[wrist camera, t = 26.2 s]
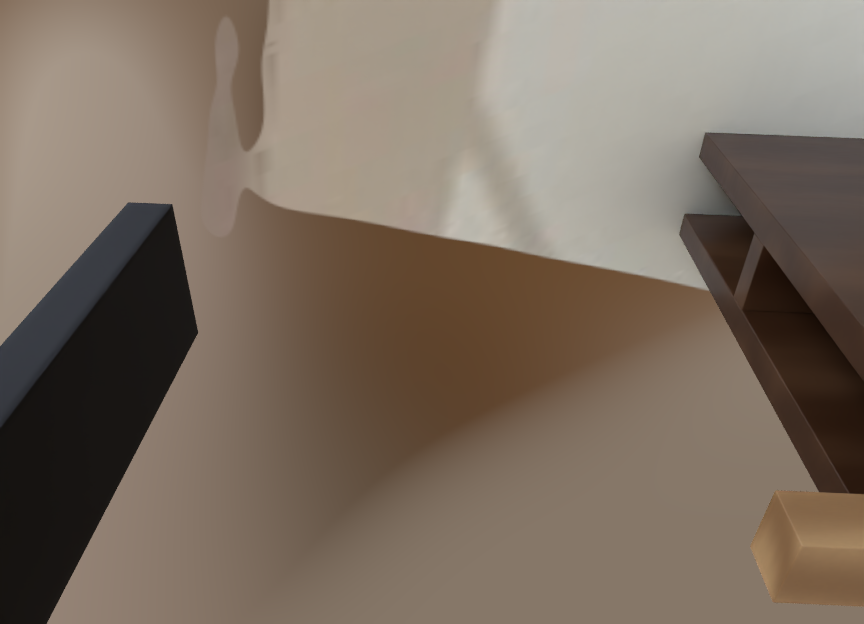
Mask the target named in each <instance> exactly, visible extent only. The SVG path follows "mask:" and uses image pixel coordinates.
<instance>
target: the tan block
mask: <svg viewBox="0 0 864 624" xmlns="http://www.w3.org/2000/svg"><path fill="white" fill-rule="evenodd" d="M750 547H751V550H752V552H753V554H754V557H755V560H756V562H757V564H758V567H759V569H760V572H761V574H762V577H763V579H764V582H765V584H766V587H767V589H768V592H769V594H770V597H771V599H772V601H773V602H775V603H797V604H819V605H841V606H864V494H847V493H825V492H802V491H779V490H776V491H775V492H774V495H773V497H772V499H771V501H770V503H769V506H768V508H767V510H766V512H765V515H764V517H763V519H762V521H761V523H760V525H759V528H758V530H757V532H756V534H755V536H754V539H753V541H752V543H751V546H750Z"/></svg>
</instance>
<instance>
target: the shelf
mask: <svg viewBox="0 0 864 624" xmlns="http://www.w3.org/2000/svg"><path fill="white" fill-rule="evenodd" d="M699 157H700V159H701V160H702V162H703V163H704V164H705V166H706V167H707V168H708V170H709V171H710V172H711V174H712V175H713V177H714V178H715V179H716V181H717V182H718V183H719V185H720V186H721V187H722V189H723V190H724V192H725V193H726V194H727V196H728V197H729V198H730V200H731V201H732V202H733V204H734V205H735V207H736V208H737V209H738V211H739V212H740V213H741V215H742V216H723V215H698V214H685V215H684V219H683V222H682V226H681V230H680V234H679V235H680V237H681V239H682V241H683V242H684V244H685V246H686V248H687V250H688V252H689V254H690V255H691V257H692V259H693V261H694V263H695V265H696V266H697V268H698V270H699V272H700V274H701V276H702V277H703V279H704V281H705V283H706V285H707V287H708V288H709V290H710V292H711V294H712V296H713V297H714V300H715V301H716V303H717V305H718V307H719V309H720V311H721V312H722V314H723V316H724V318H725V320H726V322H727V323H728V325H729V327H730V329H731V331H732V332H733V335H734V336H735V338H736V340H737V342H738V344H739V346H740V347H741V349H742V351H743V353H744V355H745V356H746V358H747V360H748V362H749V364H750V366H751V368H752V369H753V371H754V373H755V375H756V377H757V379H758V380H759V382H760V384H761V386H762V388H763V390H764V392H765V393H766V395H767V397H768V399H769V401H770V403H771V404H772V406H773V408H774V410H775V412H776V414H777V415H778V417H779V419H780V421H781V423H782V425H783V427H784V428H785V430H786V432H787V434H788V436H789V437H790V439H791V441H792V443H793V445H794V447H795V449H796V450H797V452H798V454H799V456H800V458H801V460H802V461H803V463H804V465H805V467H806V469H807V470H808V472H809V474H810V476H811V478H812V480H813V482H814V483H815V485H816V487H817V489H818V491H819V492H825V493H847V494H864V139H855V138H829V137H803V136H777V135H751V134H725V133H705V136H704V140H703V144H702V148H701V152H700V156H699Z"/></svg>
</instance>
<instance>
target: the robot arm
mask: <svg viewBox="0 0 864 624" xmlns="http://www.w3.org/2000/svg"><path fill="white" fill-rule="evenodd" d="M197 334H198V330H197V325H196V320H195V315H194V310H193V305H192V300H191V295H190V290H189V285H188V280H187V275H186V270H185V266H184V260H183V255H182V250H181V246H180V241H179V235H178V231H177V225H176V221H175V216H174V211H173V206H172V204H152V203H127V205H126V206H125V207H124V208H123V209H122V210H121V211H120V213H119V214H118V215H117V216H116V217H115V218H114V219H113V220H112V222H111V223H110V224H109V225H108V226H107V227H106V228H105V229H104V230H103V231H102V233H101V234H100V235H99V236H98V237H97V238H96V239H95V240H94V242H93V243H92V244H91V245H90V246H89V247H88V248H87V249H86V251H85V252H84V253H83V254H82V255H81V256H80V257H79V259H78V260H77V261H76V262H75V263H74V264H73V265H72V266H71V268H70V269H69V270H68V271H67V272H66V273H65V274H64V275H63V276H62V278H61V279H60V280H59V281H58V282H57V283H56V284H55V285H54V287H53V288H52V289H51V290H50V291H49V292H48V293H47V294H46V296H45V297H44V298H43V299H42V300H41V301H40V302H39V304H37V306H36V307H35V308H34V309H33V310H32V312H30V313H29V315H28V316H27V317H26V318H25V319H24V320H23V321H22V322H21V324H20V325H19V326H18V327H17V328H16V329H15V330H14V331H13V333H12V334H11V335H10V336H9V337H8V338H7V339H6V340H5V342H4V343H3V344H2V345H1V346H0V624H47V622H48V620H49V618H50V616H51V614H52V612H53V610H54V608H55V606H56V604H57V603H58V601H59V599H60V597H61V595H62V593H63V591H64V589H65V587H66V585H67V583H68V581H69V580H70V577H71V576H72V574H73V572H74V570H75V568H76V566H77V564H78V562H79V560H80V558H81V556H82V554H83V553H84V551H85V549H86V547H87V545H88V543H89V541H90V539H91V537H92V535H93V533H94V532H95V530H96V528H97V526H98V524H99V522H100V520H101V518H102V516H103V514H104V512H105V510H106V508H107V507H108V505H109V503H110V501H111V499H112V497H113V495H114V493H115V491H116V489H117V487H118V485H119V483H120V482H121V480H122V478H123V476H124V474H125V472H126V470H127V468H128V466H129V464H130V462H131V460H132V459H133V456H134V454H135V453H136V451H137V449H138V447H139V445H140V443H141V441H142V439H143V437H144V435H145V433H146V432H147V430H148V428H149V426H150V424H151V422H152V420H153V418H154V416H155V414H156V412H157V411H158V409H159V407H160V405H161V403H162V401H163V399H164V397H165V395H166V393H167V391H168V389H169V387H170V385H171V384H172V382H173V380H174V378H175V376H176V374H177V372H178V370H179V368H180V366H181V364H182V363H183V361H184V359H185V357H186V355H187V352H188V351H189V349H190V347H191V345H192V343H193V341H194V339H195V338H196V336H197Z"/></svg>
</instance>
